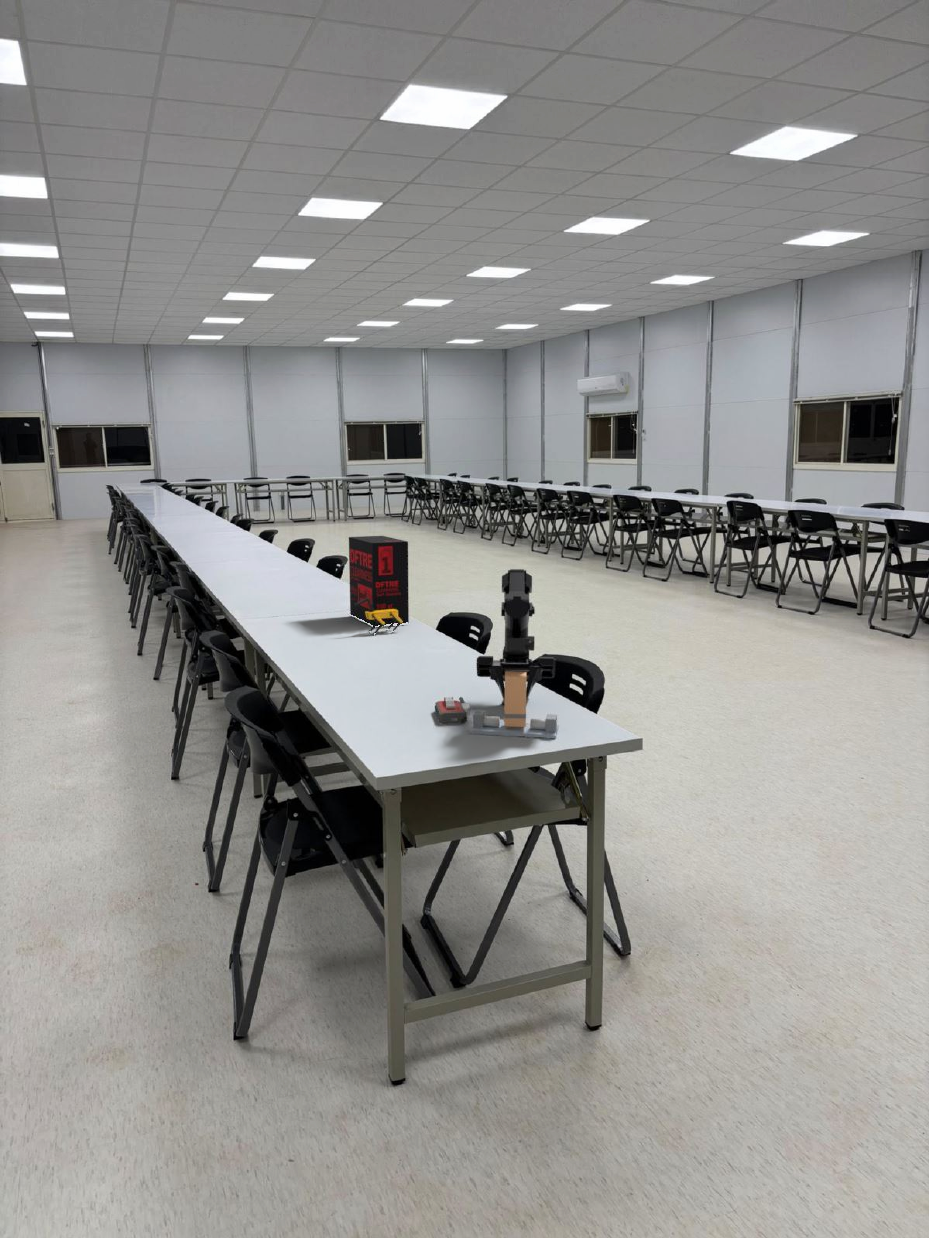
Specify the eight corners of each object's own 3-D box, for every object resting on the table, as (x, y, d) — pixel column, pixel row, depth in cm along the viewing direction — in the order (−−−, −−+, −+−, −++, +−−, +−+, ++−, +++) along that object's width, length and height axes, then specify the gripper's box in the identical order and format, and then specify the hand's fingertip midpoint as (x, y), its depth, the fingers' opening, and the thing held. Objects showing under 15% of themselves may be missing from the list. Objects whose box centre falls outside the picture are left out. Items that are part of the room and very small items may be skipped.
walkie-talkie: (475, 725, 215) (464, 703, 234) (475, 708, 214) (464, 686, 234) (439, 727, 214) (431, 704, 233) (439, 709, 213) (431, 687, 232)
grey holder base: (476, 723, 215) (476, 707, 215) (558, 728, 212) (558, 712, 211) (470, 733, 208) (470, 717, 207) (555, 738, 204) (556, 722, 203)
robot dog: (351, 634, 321) (351, 597, 318) (396, 629, 329) (396, 594, 327) (358, 637, 316) (357, 600, 313) (403, 632, 325) (402, 596, 322)
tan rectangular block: (504, 719, 212) (504, 671, 210) (525, 720, 212) (526, 671, 209) (504, 726, 207) (504, 676, 205) (525, 726, 207) (526, 677, 204)
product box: (350, 616, 355) (348, 537, 349) (383, 613, 362) (382, 535, 356) (373, 628, 332) (372, 543, 326) (408, 624, 338) (408, 541, 332)
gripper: (477, 622, 209) (474, 679, 201) (556, 624, 208) (556, 681, 200) (478, 647, 219) (475, 703, 210) (554, 649, 217) (554, 705, 209)
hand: (515, 698), depth 207 cm, fingers closed on tan rectangular block, 5 cm apart
